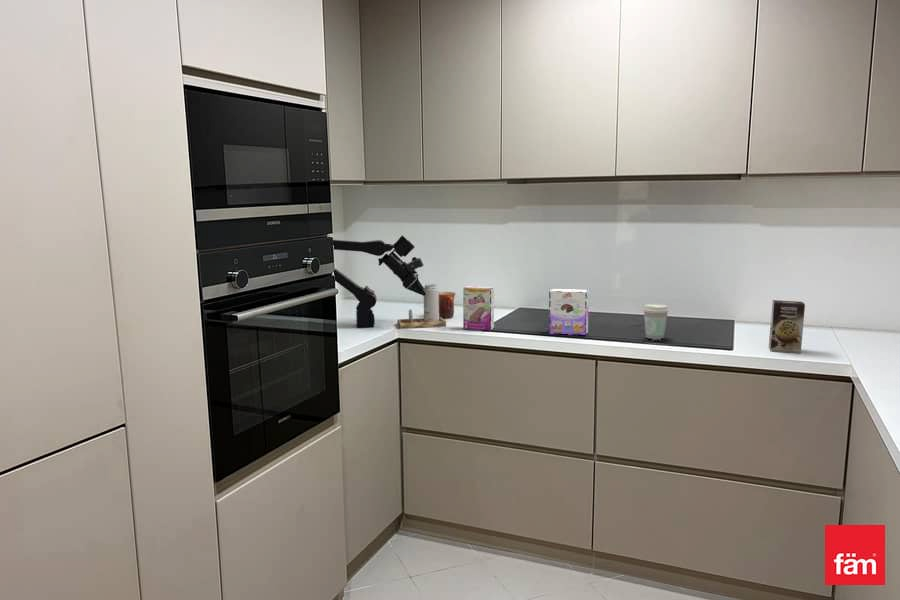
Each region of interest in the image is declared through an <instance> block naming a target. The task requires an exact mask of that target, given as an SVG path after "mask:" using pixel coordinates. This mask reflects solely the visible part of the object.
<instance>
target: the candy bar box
mask: <svg viewBox="0 0 900 600" xmlns="http://www.w3.org/2000/svg"><path fill="white" fill-rule="evenodd" d="M462 298H463V308H462V311H463V314H462V317H463V320H462V321H463V324H462V325H463V328H462V329H463V330H466V331H467V330H469V331H470V330H471V331H483V332H484V331H485V332H491V330H492V329H493V328H494V329H495V287H493V286H477V285H475V286H474V285H466V286H464V287H463V297H462ZM494 329H493V330H494ZM493 330H492V331H493Z"/></svg>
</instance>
